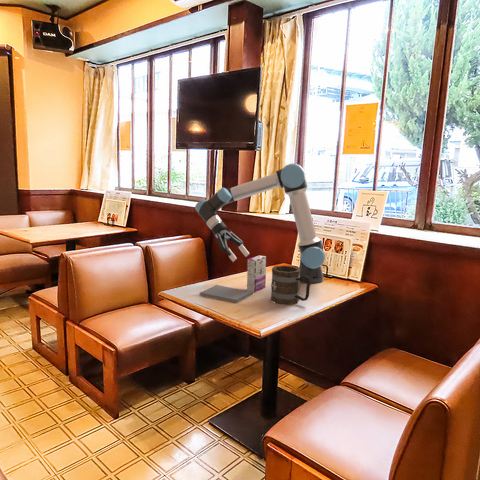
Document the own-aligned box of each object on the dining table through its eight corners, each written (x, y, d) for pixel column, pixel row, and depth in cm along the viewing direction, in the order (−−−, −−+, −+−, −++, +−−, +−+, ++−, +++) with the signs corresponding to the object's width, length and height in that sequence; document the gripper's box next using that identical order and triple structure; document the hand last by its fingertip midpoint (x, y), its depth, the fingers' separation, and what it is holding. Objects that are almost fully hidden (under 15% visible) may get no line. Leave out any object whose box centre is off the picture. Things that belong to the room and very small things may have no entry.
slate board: (251, 294, 196) (251, 291, 196) (236, 302, 183) (236, 299, 183) (216, 287, 205) (216, 285, 205) (199, 295, 192) (199, 292, 192)
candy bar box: (257, 285, 211) (258, 255, 208) (265, 287, 208) (266, 256, 206) (246, 291, 202) (247, 258, 199) (254, 292, 199) (255, 260, 196)
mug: (264, 300, 188) (265, 268, 186) (281, 293, 198) (282, 264, 196) (300, 310, 176) (302, 277, 173) (316, 303, 186) (318, 271, 183)
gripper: (224, 227, 223) (247, 257, 219) (198, 233, 201) (224, 266, 197) (233, 218, 220) (257, 249, 215) (208, 223, 198) (234, 257, 194)
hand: (241, 257), depth 206 cm, fingers open, 13 cm apart
